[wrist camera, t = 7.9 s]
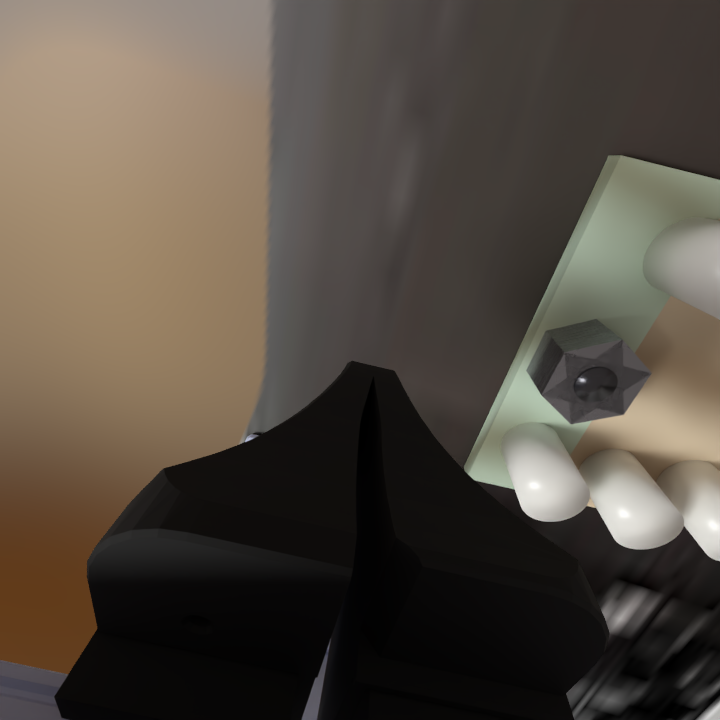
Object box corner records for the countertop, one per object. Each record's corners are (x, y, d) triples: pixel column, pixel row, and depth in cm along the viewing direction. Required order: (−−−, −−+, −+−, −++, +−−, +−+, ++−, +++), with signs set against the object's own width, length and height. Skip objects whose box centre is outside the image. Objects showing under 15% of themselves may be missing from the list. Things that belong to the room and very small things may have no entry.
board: (672, 514, 25) (682, 527, 24) (464, 467, 24) (466, 478, 24) (921, 233, 16) (951, 237, 16) (608, 155, 16) (621, 155, 15)
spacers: (705, 514, 23) (761, 577, 20) (488, 465, 23) (505, 520, 19) (933, 274, 16) (1083, 306, 13) (623, 197, 16) (689, 208, 12)
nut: (588, 405, 21) (611, 434, 18) (517, 388, 20) (531, 415, 18) (636, 328, 18) (668, 351, 16) (556, 309, 18) (577, 329, 16)
